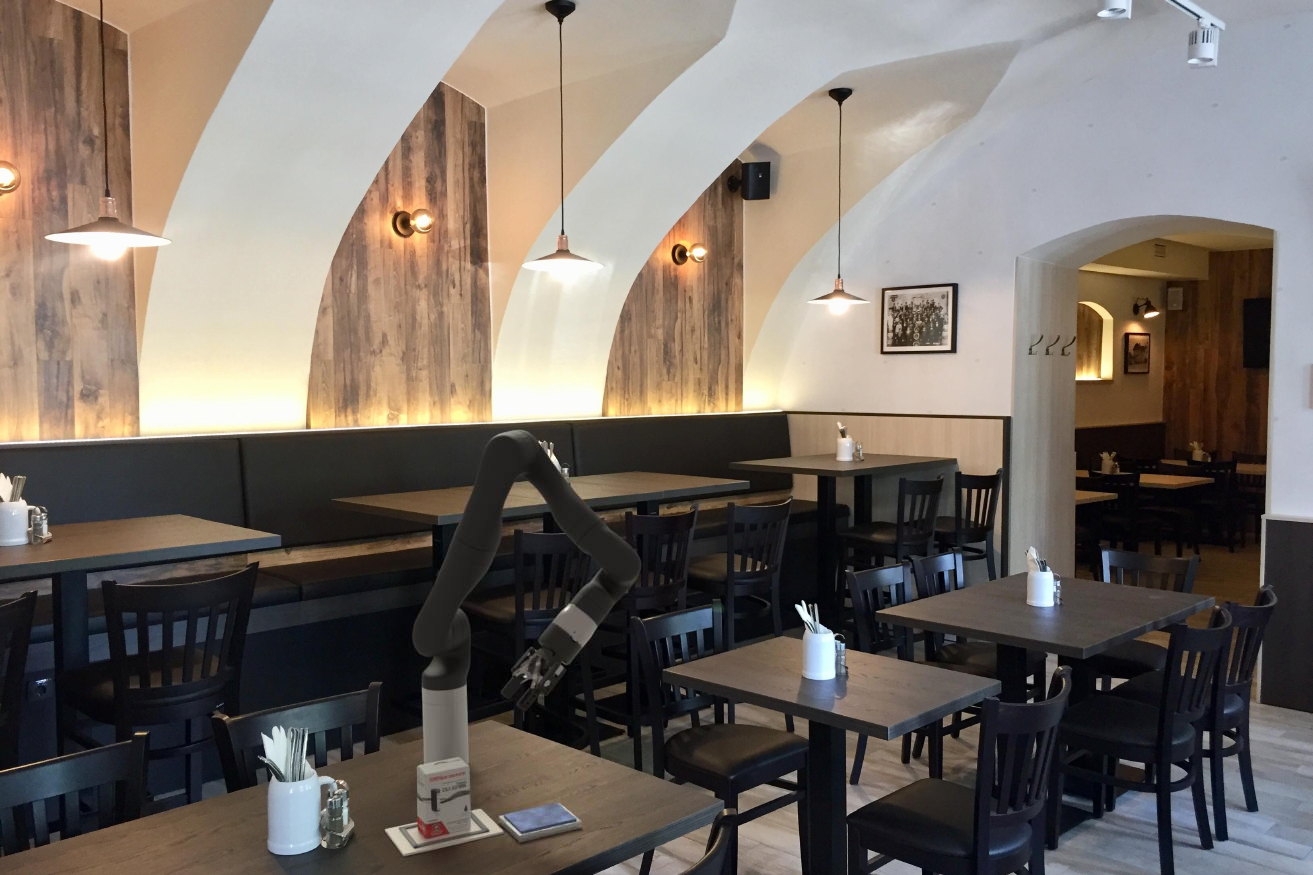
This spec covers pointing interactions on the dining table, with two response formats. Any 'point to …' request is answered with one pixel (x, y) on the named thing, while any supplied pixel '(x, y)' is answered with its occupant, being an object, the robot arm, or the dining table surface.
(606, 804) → the dining table surface
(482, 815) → the sheet
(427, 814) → the ink box
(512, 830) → the ink pad
